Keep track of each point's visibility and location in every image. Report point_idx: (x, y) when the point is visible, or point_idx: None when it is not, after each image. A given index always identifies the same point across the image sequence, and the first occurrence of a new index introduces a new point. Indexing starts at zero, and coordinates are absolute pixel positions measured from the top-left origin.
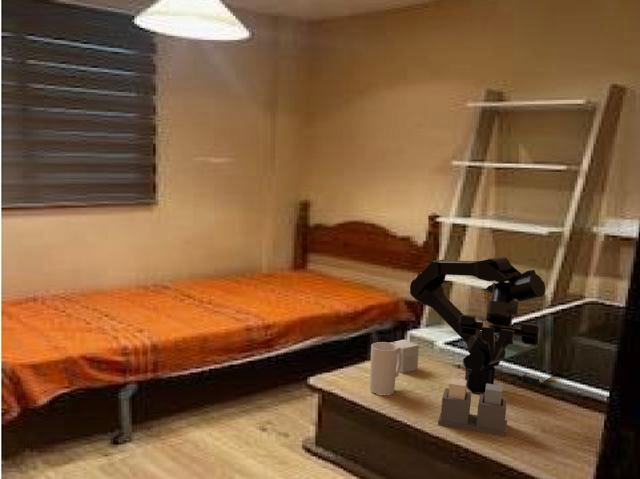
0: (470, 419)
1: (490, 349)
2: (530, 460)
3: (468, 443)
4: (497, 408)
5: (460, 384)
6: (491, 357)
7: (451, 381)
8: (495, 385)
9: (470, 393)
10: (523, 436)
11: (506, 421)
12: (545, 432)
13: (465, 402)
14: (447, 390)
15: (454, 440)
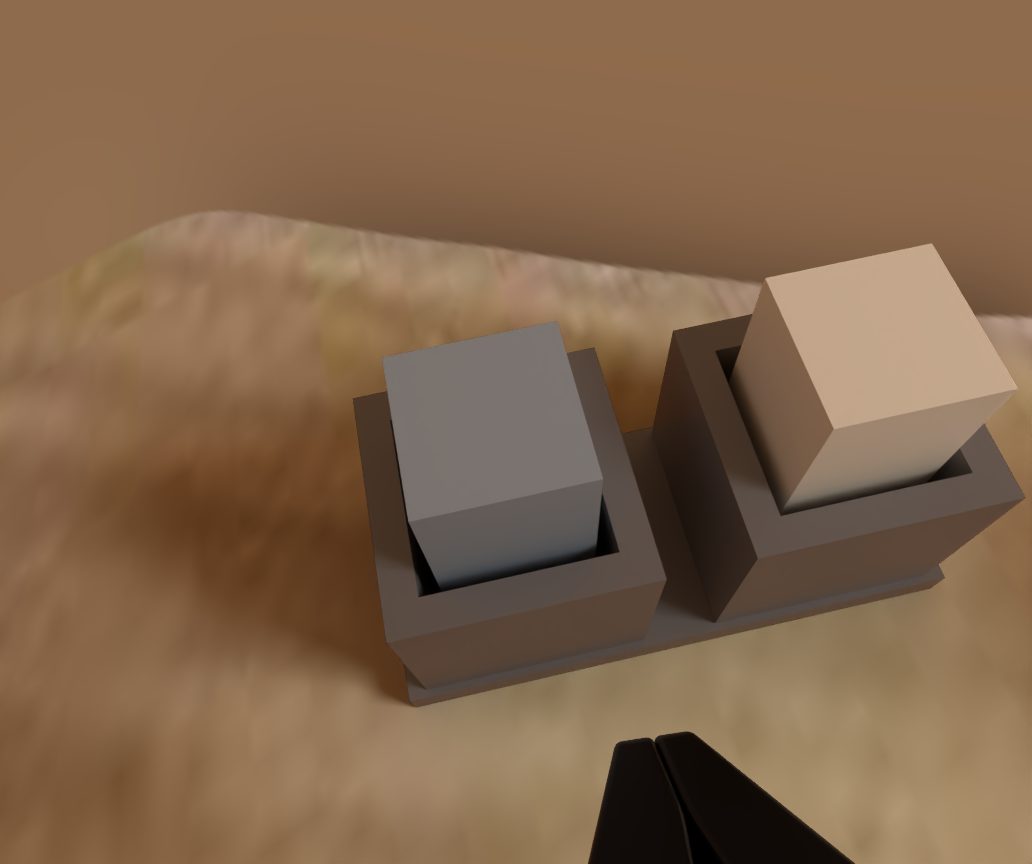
0: (669, 534)
1: (828, 849)
2: (211, 307)
3: (569, 289)
4: None
5: (826, 282)
6: (702, 740)
7: (948, 301)
8: (488, 483)
9: (750, 517)
10: (271, 576)
11: (410, 674)
12: (111, 753)
13: (703, 331)
14: (970, 450)
15: (652, 276)
